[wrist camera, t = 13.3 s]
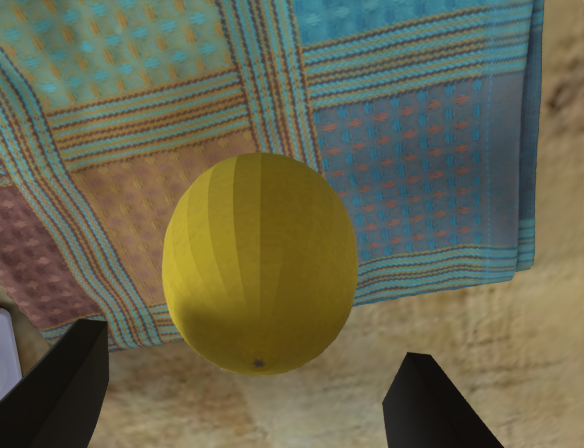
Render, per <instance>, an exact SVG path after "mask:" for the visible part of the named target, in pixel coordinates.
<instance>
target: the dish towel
mask: <svg viewBox="0 0 584 448" xmlns="http://www.w3.org/2000/svg"><path fill="white" fill-rule="evenodd" d="M543 16H544V0H0V285H2V286H3V287H4V288H5V289H6V292H7V295H8V296H9V297H10V298H11V299H13V300H14V301H15V302H16V303H17V305H18V307H19V309H20V311H21V312H22V313H24V314H25V315H27V317H28V318H29V319H30V321H31V323H32V325H33V326H34V327H35V328H37V329H38V330H39V331H40V333H41V334H42V336H43V337H44V338H45V340H46V341H47V343H48V345H49V347H50V348H51V347H52V346H53V345H54V344H55V343H56V342H57V341H58V340H59V338H60V337H61V336H62V335H63V334H64V333H65V332H66V331H67V329H68V328H69V327H70V326H71V325H72V324H73V322H74V321H76V320H78V319H79V318H80V319H90V320H100V321H108V353H110V352H115V351H121V350H126V349H134V348H142V347H147V346H154V345H161V344H166V343H173V342H177V341H182V340H184V338H183V337H182V335H181V334H180V332H179V330H178V329H177V327H176V326H175V324H174V322H173V321H172V318H171V316H170V313H169V309H168V305H167V302H166V298H165V294H164V288H163V280H162V262H163V249H164V239H165V234H166V230H167V228H168V225H169V223H170V220H171V218H172V216H173V213H174V211H175V209H176V206H177V204H178V202H179V200H180V199H181V197H182V196H183V195H184V193H185V192H186V191H187V190H188V189H189V187H190V186H191V185H192V184H193V183H194V181H195V180H196V179H197V178H198V177H199V176H200V175H201V174H203V173H204V172H206V171H207V170H208V169H210V168H211V167H213V166H214V165H216V164H217V163H219V162H221V161H224V160H226V159H229V158H232V157H235V156H237V155H240V154H247V153H256V152H266V153H274V154H282V155H285V156H287V157H290V158H293V159H295V160H298V161H301V162H303V163H305V164H306V165H307V166H309V167H310V168H312V169H313V170H315V171H316V172H317V173H319V174H320V175H321V176H322V177H324V179H325V180H326V181H327V182H328V183H329V184H330V186H331V187H332V188H333V189H334V190H335V192H336V193H337V194H338V195H339V197H340V198H341V200H342V202H343V204H344V206H345V209H346V211H347V213H348V216H349V218H350V220H351V222H352V225H353V228H354V232H355V237H356V247H357V258H358V279H357V285H356V290H355V295H354V300H353V304H352V307H354V306H357V305H362V304H370V303H375V302H379V301H385V300H393V299H396V298H399V297H405V296H415V295H418V294H424V293H431V292H437V291H442V290H455V289H460V288H464V287H472V286H478V285H482V284H490V283H498V282H504V281H509V280H511V279H512V278H513V276H514V273H515V272H517V271H523V270H528V269H530V268H531V266H533V264H534V255H535V185H536V166H537V145H538V133H539V114H540V104H541V84H542V32H543Z"/></svg>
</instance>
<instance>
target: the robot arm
mask: <svg viewBox="0 0 584 448" xmlns="http://www.w3.org/2000/svg"><path fill="white" fill-rule="evenodd" d="M108 383H109V353H108V321H100V320H90V319H80V318H79V319H78V320H76V321H74V322H73V324H72V325H71V326H70V327H69V328H68V329H67V331H66V332H65V333H64V334H63V335H62V336H61V337H60V338H59V340H58V341H57V342H56V343H55V344H54V345H53V346H52V347H51V348H50V350H49V351H48V352H47V353H46V354H45V355H44V356H43V357H42V358H41V359H40V360H39V361H38V362H37V363H36V365H35V366H34V367H33V368H32V369H31V370H30V371H29V372H28V373H27V374H26V375H25V376H24V377H23V378H22V374H21V368H20V363H19V358H18V352H17V347H16V342H15V336H14V331H13V326H12V320H11V316H10V314H9V312H8V311H7V310H5V309H2V308H0V448H87V447H88V444H89V442H90V439H91V437H92V434H93V432H94V429H95V427H96V424H97V421H98V417H99V414H100V411H101V407H102V404H103V400H104V397H105V393H106V390H107V386H108ZM382 405H383V413H384V422H385V429H386V436H387V442H388V448H504V447H503V446H502V445H501V443H500V442H499V441H498V440H497V439H496V437H495V436H494V435H493V434H492V432H491V431H490V430H489V429H488V427H487V426H486V425H485V424H484V423H483V421H482V420H481V419H480V418H479V416H478V415H477V414H476V412H475V411H474V410H473V409H472V407H471V406H470V405H469V404H468V402H467V401H466V400H465V398H464V397H463V396H462V395H461V393H460V392H459V391H458V389H457V388H456V387H455V386H454V384H453V383H452V382H451V380H450V379H449V378H448V376H447V375H446V374H445V373H444V371H443V370H442V369H441V367H440V366H439V365H438V364H437V362H436V361H435V360H434V359H433V357H432V356H431V355H429V354H419V353H410V352H407V354H406V356H405V358H404V360H403V362H402V364H401V366H400V368H399V370H398V372H397V374H396V376H395V378H394V380H393V382H392V384H391V386H390V388H389V390H388V392H387V394H386V396H385V398H384V400H383V402H382Z"/></svg>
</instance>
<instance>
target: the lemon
mask: <svg viewBox="0 0 584 448" xmlns="http://www.w3.org/2000/svg"><path fill="white" fill-rule="evenodd" d="M357 279H358V258H357V247H356V237H355V232H354V228H353V225H352V222H351V220H350V218H349V216H348V213H347V211H346V209H345V206H344V204H343V202H342V200H341V198H340V197H339V195H338V194H337V193H336V192H335V190H334V189H333V188H332V187H331V186H330V184H329V183H328V182H327V181H326V180H325V179H324V177H322V176H321V175H320V174H319V173H317V172H316V171H315V170H313V169H312V168H310V167H309V166H307V165H306V164H305V163H303V162H301V161H298V160H295V159H293V158H290V157H287V156H285V155H282V154H274V153H266V152H256V153H247V154H240V155H237V156H235V157H232V158H229V159H226V160H224V161H221V162H219V163H217V164H216V165H214V166H213V167H211V168H210V169H208V170H207V171H206V172H204V173H203V174H201V175H200V176H199V177H198V178H197V179H196V180H195V181H194V183H193V184H192V185H191V186H190V187H189V189H188V190H187V191H186V192H185V193H184V195H183V196H182V197H181V199H180V200H179V202H178V204H177V206H176V209H175V211H174V213H173V216H172V218H171V220H170V223H169V225H168V228H167V230H166V234H165V239H164V249H163V262H162V280H163V288H164V294H165V298H166V302H167V305H168V309H169V313H170V316H171V318H172V321H173V322H174V324H175V326H176V327H177V329H178V330H179V332H180V334H181V335H182V337H183V338H184V340H185V341H186V343H187V344H188V345H190V346H191V347H192V348H193V349H194V350H195V351H196V352H197V353H198V354H199V355H201V356H202V357H203V358H204V359H206V360H208V361H209V362H211V363H213V364H215V365H216V366H218V367H220V368H222V369H225V370H228V371H231V372H234V373H237V374H243V375H250V376H270V375H275V374H281V373H285V372H288V371H290V370H293V369H296V368H298V367H300V366H302V365H304V364H306V363H308V362H309V361H311V360H312V359H314V358H316V357H317V356H318V355H319V354H321V353H322V352H323V351H324V350H325V349H326V348H327V347H328V346H329V345H330V344H331V343H332V342H333V341H334V340H335V339H336V337H337V336H338V334H339V333H340V331H341V329H342V327H343V326H344V324H345V322H346V320H347V319H348V317H349V314H350V311H351V309H352V304H353V300H354V295H355V290H356V285H357Z"/></svg>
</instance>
